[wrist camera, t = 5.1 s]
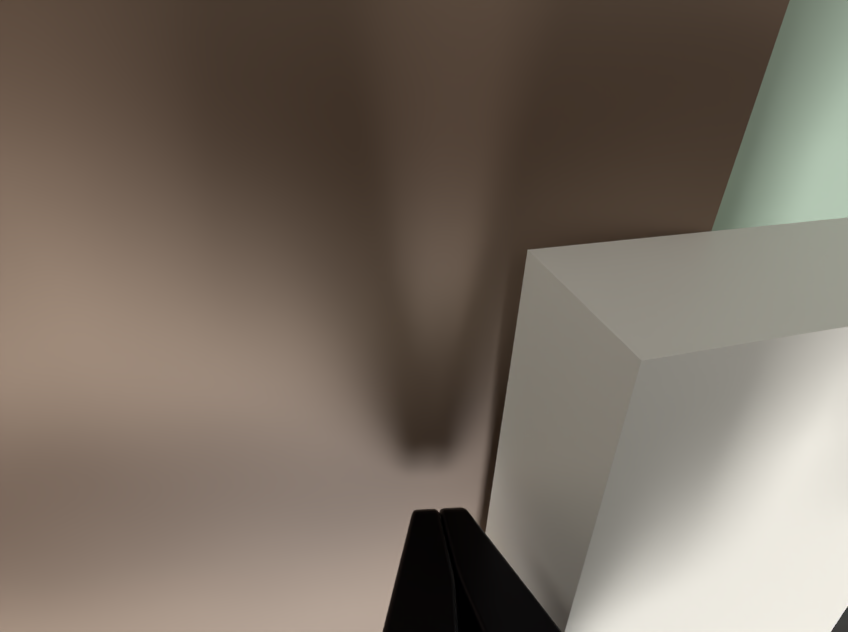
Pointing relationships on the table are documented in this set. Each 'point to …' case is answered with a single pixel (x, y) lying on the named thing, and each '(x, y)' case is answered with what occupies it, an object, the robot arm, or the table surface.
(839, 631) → the table surface
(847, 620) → the table surface
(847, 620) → the table surface
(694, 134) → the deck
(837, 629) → the table surface
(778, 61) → the mat
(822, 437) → the tile
